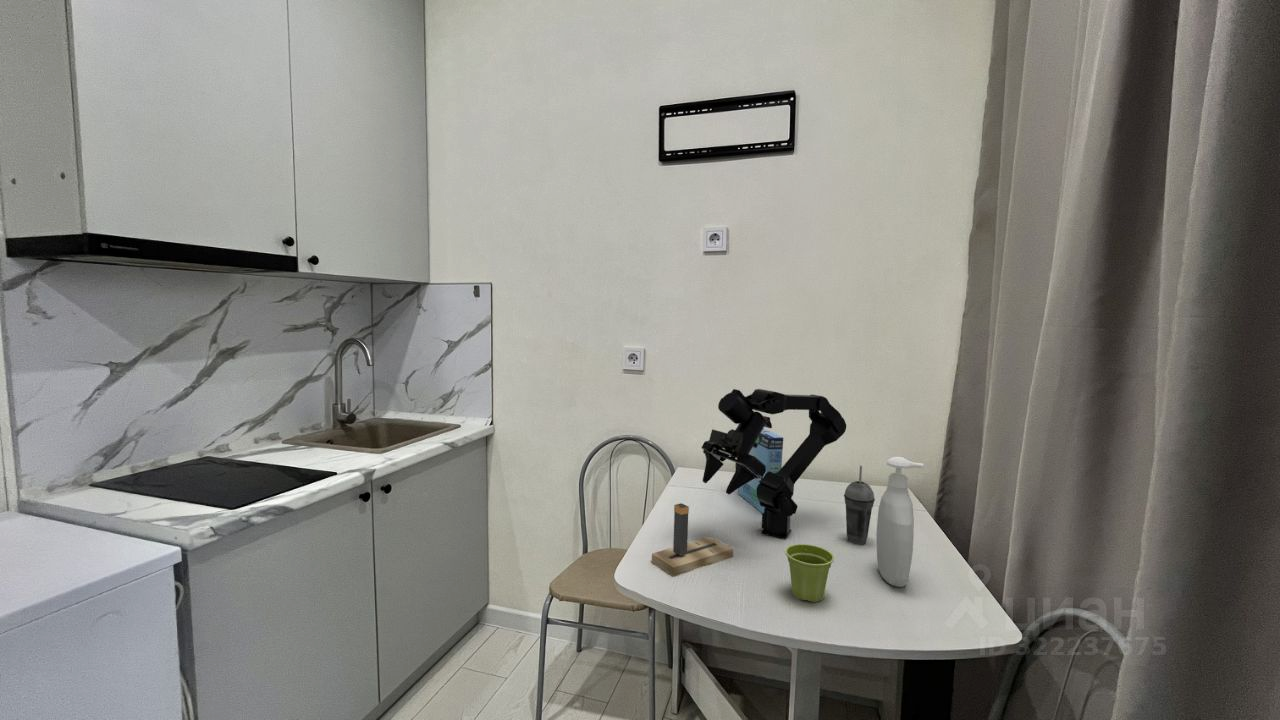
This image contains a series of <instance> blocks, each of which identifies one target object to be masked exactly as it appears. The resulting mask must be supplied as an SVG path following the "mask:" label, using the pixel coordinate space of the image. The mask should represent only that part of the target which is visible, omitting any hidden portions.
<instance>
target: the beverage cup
mask: <svg viewBox="0 0 1280 720" xmlns="http://www.w3.org/2000/svg"><path fill="white" fill-rule="evenodd" d="M862 473H863V465H859V473H858V474H859V475H858V477H859V478H858V480H855V481H853V482H850V483H849V484H848V485H847V486H846V489H845V490H844V494H843V497H844V504H845V518H846V519H845V523H846V524H845V525H846V539H847V542H848V543H850V544H852V545H855V546H856V545H857V546H864V545H867V539H868V538H869V537H868V535H869V531H870V523H871V517H872V509H873V507H874V504H875V501H876V498H875V493H874V491H873V488H872V487H871V486H870V485H869V484H868V483H866V482H864V481H862V476H863V475H862Z"/></svg>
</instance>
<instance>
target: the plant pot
mask: <svg viewBox="0 0 1280 720" xmlns="http://www.w3.org/2000/svg"><path fill="white" fill-rule="evenodd" d="M784 552H785V556H786V557H787V561H788V564H789V573H790V582H791V592H792V594H793V595H794V596H795V597H796V598H797V599H800V601H801V600H802V601H809V602H810V603H815V602H820V601H822V600H823V599H824V598H825V597H824V596H825V591H826V588H827V587H826V586H827V582H828V575H829V571H830V568H831V567H832V564H833V563H834V561H835V557H834V555H833V553H832V552H831V551H829V550H828V549H826V548H823V547H821V546H817V545H814V544H806V543H796V544H791V545H789V546H787V547H786V548H785V551H784Z"/></svg>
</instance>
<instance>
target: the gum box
mask: <svg viewBox="0 0 1280 720" xmlns="http://www.w3.org/2000/svg"><path fill="white" fill-rule="evenodd" d="M784 439H785V438H784V437H783V436H781V435H779V434H777V433H774V432H772V431H770V430H768V429H766V428H765V427H764V428H763V430H762V432H761V433H760V435H759V437H758V439H757V440H756V442H755V443H757V444H758V446H757V448H754V447H752V449H751V451H750V453H749V455H752V456H755V457H756V458H757V459H758V460H759V461H761V462H762V463H763V464H764V465H765V466H766V472H765V474H766V473H767V472H768V471H770V472H772V473H777V472H778V471H780V469H781V468H782V467H783V466H782V465H783V450H784ZM765 474H764V476H765ZM756 476H757V475H756ZM764 476H763V477H764ZM757 477H758V478H757V479H753V480H751V481H750V482H748V483H746V484H744V485H743V486H741V487H740V488H738V489H737V493H739V495H740V496H741V497H742V498H743V499H744V498H745V499H744V500H746V501H747V502H748V503H749V502H750V503H749V504H751V505H752V506H753V507H754V508H755V507H756V508H755V509H756V510H758V511H759V512H760V513H761V512H762V513H761V514H763V513H764V509H765V507H763V506H760V503H759V500H758V498H757V490H756V489H757V486H758V485H759V481H760V480H761V479H762V478H763V477H759V476H757Z"/></svg>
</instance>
